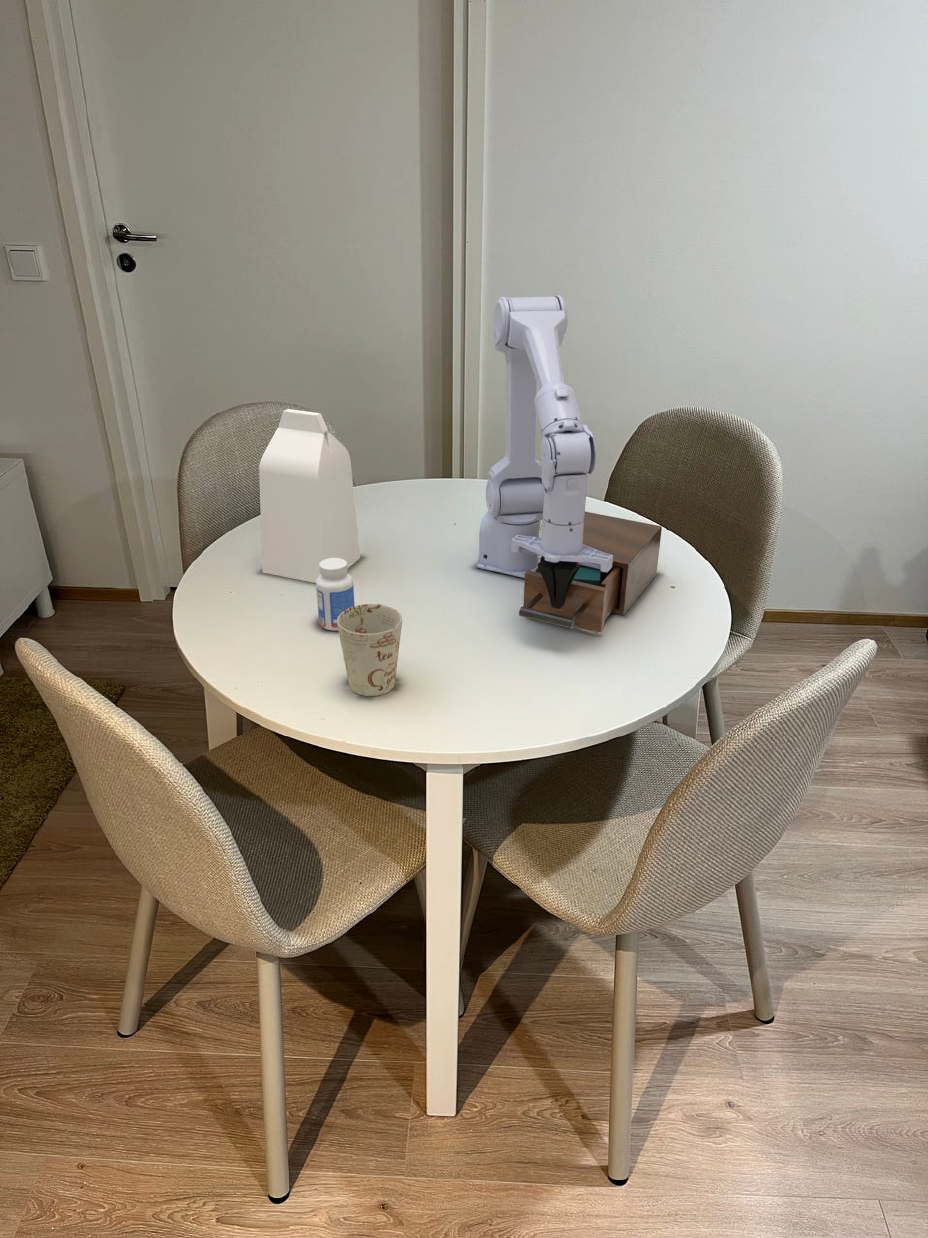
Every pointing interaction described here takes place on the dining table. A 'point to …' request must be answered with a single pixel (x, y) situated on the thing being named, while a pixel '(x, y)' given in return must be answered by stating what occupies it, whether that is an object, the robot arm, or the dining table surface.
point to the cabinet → (625, 551)
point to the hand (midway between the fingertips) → (557, 605)
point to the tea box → (588, 576)
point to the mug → (370, 647)
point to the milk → (306, 499)
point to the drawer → (573, 601)
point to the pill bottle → (333, 591)
